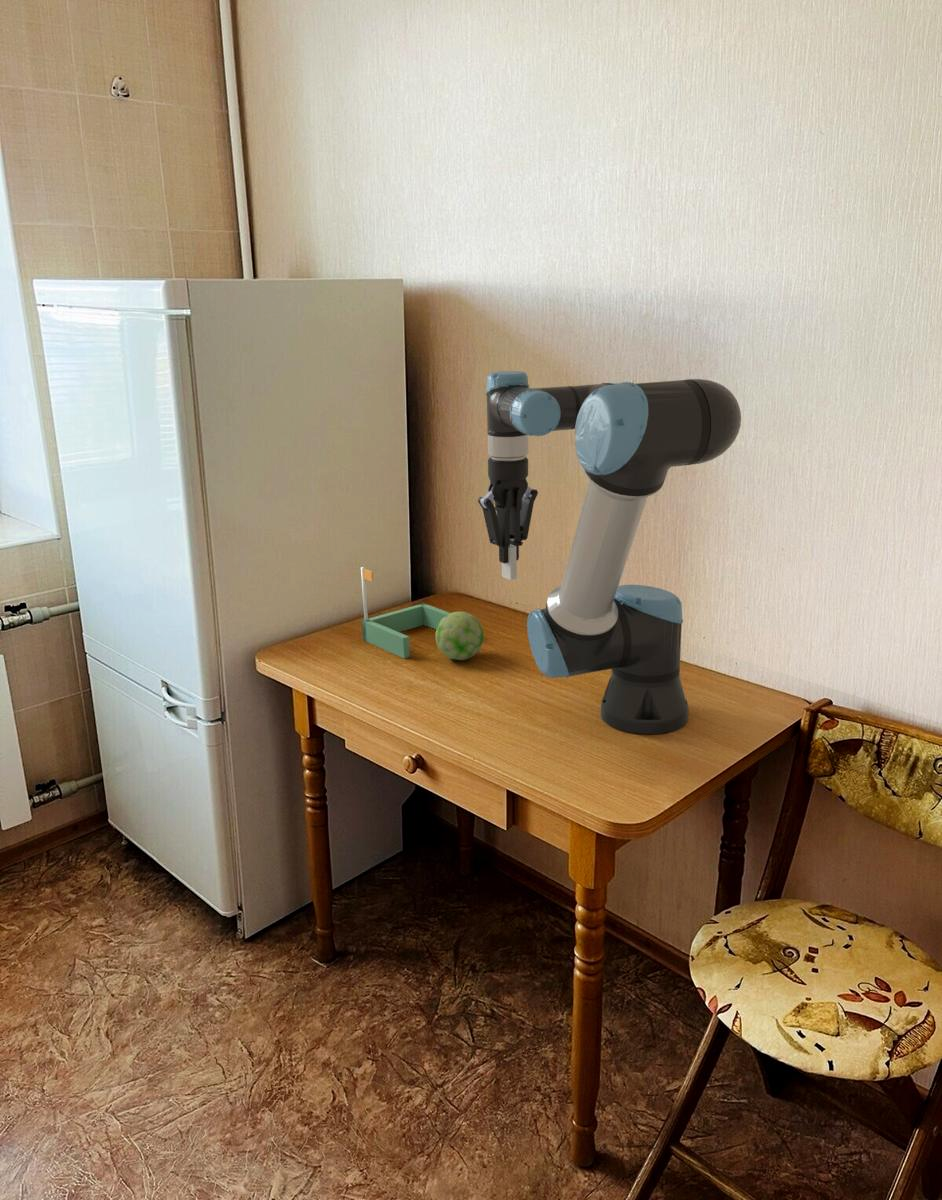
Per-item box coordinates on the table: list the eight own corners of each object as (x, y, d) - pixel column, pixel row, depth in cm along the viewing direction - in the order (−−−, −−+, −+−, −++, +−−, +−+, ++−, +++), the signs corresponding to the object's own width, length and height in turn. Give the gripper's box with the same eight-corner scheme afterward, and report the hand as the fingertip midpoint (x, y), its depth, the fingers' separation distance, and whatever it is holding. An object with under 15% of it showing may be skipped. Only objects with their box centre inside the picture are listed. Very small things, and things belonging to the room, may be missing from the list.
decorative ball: (488, 664, 193) (487, 618, 190) (440, 669, 191) (438, 622, 188) (479, 648, 202) (478, 603, 199) (432, 652, 200) (430, 607, 197)
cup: (467, 638, 208) (465, 565, 202) (404, 658, 197) (400, 582, 192) (424, 621, 219) (421, 552, 214) (362, 639, 209) (357, 567, 204)
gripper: (522, 449, 183) (522, 566, 191) (467, 458, 176) (470, 580, 184) (547, 455, 178) (547, 575, 185) (492, 464, 170) (494, 589, 178)
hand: (509, 577), depth 185 cm, fingers closed
